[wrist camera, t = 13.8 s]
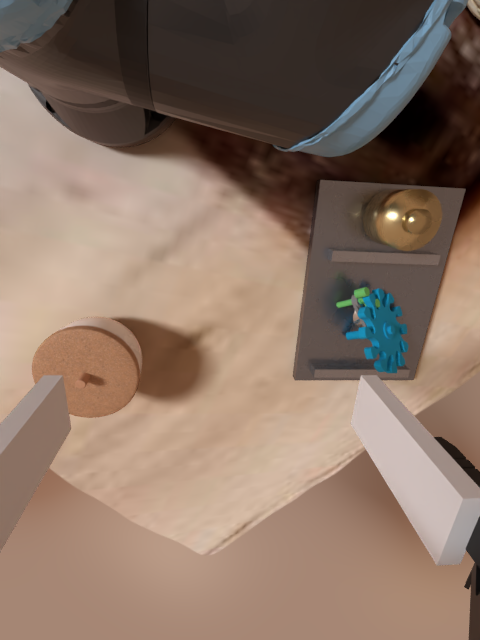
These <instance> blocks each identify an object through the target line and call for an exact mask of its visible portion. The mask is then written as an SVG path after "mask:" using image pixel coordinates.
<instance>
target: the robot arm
mask: <svg viewBox="0 0 480 640" xmlns="http://www.w3.org/2000/svg"><path fill="white" fill-rule="evenodd" d="M467 3H468V0H0V67H1V68H3V69H5V70H6V71H8V72H10V73H12V74H13V75H15V76H17V77H18V78H20V79H22V80H23V81H25V82H27V83H28V85H29V87H30V88H31V90H32V92H33V93H34V95H35V96H36V98H37V99H38V100H39V102H40V103H41V104H42V105H43V107H44V108H45V109H46V110H47V111H48V112H49V113H50V114H51V115H52V116H53V117H54V118H55V119H56V120H57V121H58V122H60V123H61V124H62V125H63V126H65V127H66V128H67V129H69V130H70V131H72V132H74V133H75V134H77V135H79V136H81V137H83V138H86V139H88V140H90V141H93V142H95V143H98V144H101V145H105V146H111V147H131V146H136V145H140V144H143V143H146V142H148V141H150V140H152V139H154V138H155V137H157V136H159V135H160V134H161V133H162V132H164V131H165V130H166V129H167V128H168V127H169V126H170V125H171V123H172V122H173V121H174V120H175V118H179V119H182V120H186V121H190V122H193V123H197V124H201V125H204V126H208V127H212V128H215V129H219V130H222V131H226V132H230V133H233V134H237V135H241V136H244V137H248V138H252V139H255V140H259V141H263V142H266V143H270V144H272V145H273V146H274V147H275V148H276V149H278V150H281V151H284V152H287V151H291V152H295V151H301V152H305V153H310V154H314V155H319V156H324V157H335V156H342V155H345V154H349V153H351V152H353V151H355V150H357V149H359V148H361V147H362V146H364V145H366V144H367V143H368V142H370V141H371V140H372V139H374V138H375V137H376V136H377V135H378V134H380V133H381V132H382V131H383V130H384V129H385V128H386V127H387V126H388V125H389V124H390V123H391V122H392V121H393V120H394V119H395V118H396V117H397V115H398V114H399V113H400V112H401V111H402V110H403V109H404V107H405V106H406V105H407V104H408V103H409V101H410V100H411V99H412V97H413V96H414V95H415V93H416V92H417V91H418V89H419V88H420V87H421V85H422V84H423V83H424V81H425V80H426V78H427V77H428V75H429V74H430V72H431V71H432V69H433V68H434V66H435V64H436V63H437V61H438V59H439V58H440V56H441V54H442V52H443V51H444V49H445V47H446V45H447V44H448V42H449V40H450V38H451V31H450V30H449V26H450V25H451V24H452V22H453V21H454V20H455V18H456V17H457V16H458V15H459V14H460V13H461V12H462V11H463V10H464V9H465V7H466V5H467ZM351 425H352V427H353V429H354V430H355V432H356V434H357V435H358V437H359V439H360V440H361V442H362V443H363V445H364V447H365V448H366V450H367V452H368V453H369V455H370V457H371V458H372V460H373V461H374V463H375V465H376V466H377V468H378V470H379V471H380V473H381V474H382V476H383V478H384V480H385V481H386V483H387V484H388V486H389V487H390V489H391V491H392V493H393V494H394V496H395V498H396V499H397V501H398V502H399V504H400V506H401V507H402V509H403V511H404V512H405V514H406V515H407V517H408V519H409V520H410V522H411V524H412V525H413V527H414V529H415V530H416V531H417V533H418V535H419V537H420V538H421V540H422V542H423V543H424V545H425V547H426V548H427V550H428V552H429V553H430V555H431V556H432V558H433V560H434V561H435V563H436V565H452V564H460V563H461V561H462V559H463V556H464V553H465V552H466V550H467V552H468V553H469V554H470V556H471V557H472V559H473V560H474V562H475V563H474V566H473V568H472V570H471V572H470V574H469V577H468V579H467V581H466V584H465V586H464V587H465V588H467V589H469V587H470V585H471V600H470V625H469V640H480V472H479V471H478V470H477V469H475V466H473V465H472V463H471V462H470V461H469V460H466V457H465V456H464V455H463V454H462V453H461V452H460V451H459V450H458V449H457V448H456V447H455V446H453V445H452V444H451V443H449V442H448V441H446V440H445V439H443V438H442V437H433V436H432V435H431V434H430V433H429V432H428V431H427V430H426V429H425V428H424V426H423V425H422V424H421V423H420V422H419V421H418V420H417V419H416V418H415V417H414V415H413V414H412V413H411V412H410V411H409V410H408V409H407V408H406V407H405V406H404V404H403V403H402V402H401V401H400V400H399V399H398V398H397V397H396V396H395V395H394V394H393V392H392V391H391V390H390V389H389V388H388V387H387V386H386V385H385V384H384V383H383V382H382V380H381V379H380V378H379V377H378V376H377V375H361V377H360V382H359V387H358V392H357V396H356V401H355V406H354V411H353V416H352V420H351ZM70 430H71V423H70V417H69V411H68V405H67V398H66V392H65V386H64V379H63V375H44V376H43V377H42V378H41V379H40V380H39V381H38V382H37V383H36V385H35V386H34V387H33V388H32V389H31V390H30V391H29V392H28V394H27V395H26V396H25V397H24V398H23V399H22V400H21V401H20V403H19V404H18V405H17V406H16V407H15V408H14V409H13V410H12V411H11V413H10V414H9V415H8V416H7V417H6V418H5V419H4V420H3V422H2V423H1V424H0V552H1V550H2V548H3V546H4V545H5V543H6V541H7V539H8V538H9V536H10V534H11V533H12V531H13V529H14V527H15V526H16V524H17V522H18V520H19V519H20V517H21V515H22V513H23V512H24V510H25V508H26V506H27V505H28V503H29V501H30V500H31V498H32V496H33V494H34V493H35V491H36V489H37V487H38V486H39V484H40V482H41V481H42V479H43V477H44V475H45V473H46V472H47V470H48V468H49V467H50V465H51V463H52V461H53V460H54V458H55V456H56V454H57V453H58V451H59V449H60V447H61V446H62V444H63V442H64V441H65V439H66V437H67V435H68V434H69V432H70Z"/></svg>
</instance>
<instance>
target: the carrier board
mask: <svg viewBox="0 0 480 640" xmlns="http://www.w3.org/2000/svg"><path fill="white" fill-rule="evenodd" d="M465 190H466V189H462V188H446V187H429V186H413V185H396V184H380V183H364V182H347V181H331V180H317V185H316V193H315V201H314V209H313V217H312V225H311V234H310V242H309V250H308V258H307V266H306V274H305V282H304V290H303V298H302V306H301V314H300V322H299V330H298V338H297V346H296V354H295V362H294V370H293V377H294V379H295V380H360V377H361V375H377V376H378V377H379V378H380V379H381V380H414V376H415V372H416V369H417V365H418V361H419V358H420V354H421V350H422V347H423V343H424V339H425V336H426V332H427V329H428V325H429V321H430V318H431V314H432V310H433V307H434V303H435V299H436V296H437V292H438V288H439V285H440V281H441V277H442V274H443V270H444V267H445V263H446V259H447V256H448V252H449V248H450V245H451V241H452V237H453V234H454V230H455V226H456V223H457V219H458V216H459V212H460V208H461V205H462V201H463V197H464V194H465ZM364 287H367V288H368V289H369V292H370V294H372V290H375V289H382V290H383V291H384V294H387V293H391V294H392V296H393V298H394V303H392V304H390V310H391V308H392V307H397V306H400V307H401V310H402V316H400V317H396V320H397V321H398V322H399V323H400V324H406V325H407V334H402V335H401V337H402V338H403V340H404V341H405V342H407V343H408V345H409V347H408V351H407V352H405V353H402V356H403V357H404V359H405V364H404V365H403V366H397V373H386V372H378V371H377V370H376V369H375V367H374V362H375V361H377V360H379V353H378V355H377V357H376V358H375V359H366V356H365V353H364V348H366V347H372V342H371V341H370V340H368V339H352V340H347V338H346V333H347V332H352V331H358V330H359V328H360V327H363V325H362V323H361V321H360V319H359V317H358V315H357V313H356V311H355V309H354V307H353V305H350V306H346V307H341V308H338V307H337V305H336V304H337V302H341V301H345V300H349V299H351V297H352V295H354V290H356V289H360V288H364ZM364 305H365V304H364Z"/></svg>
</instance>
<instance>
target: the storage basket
mask: <svg viewBox="0 0 480 640" xmlns="http://www.w3.org/2000/svg"><path fill="white" fill-rule="evenodd" d="M467 6H468V8H469V10H470V12H471V13H472V14H473V15H474V16H475V17H476V18H478V19H479V20H480V0H468V3H467Z"/></svg>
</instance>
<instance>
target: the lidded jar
mask: <svg viewBox="0 0 480 640" xmlns="http://www.w3.org/2000/svg"><path fill="white" fill-rule="evenodd" d="M141 371H142V352H141V348H140V345H139V343H138V341H137V339H136V337H135V336H134V334H133V333H132V332H131V331H130V330H129V329H128V328H127V327H126V326H124V325H123V324H121V323H119V322H118V321H115V320H113V319H109V318H105V317H86V318H82V319H79V320H76V321H73V322H71V323H69V324H67V325H65V326H64V327H62V328H61V329H59V330H58V331H57V332H55V333H54V334H52V335H51V336H50V337H48V338H47V339H46V340H45V341H44V342H43V343H42V344H41V345H40V346H39V348H38V349H37V351H36V353H35V355H34V358H33V363H32V374H33V378H34V382H35V384H36V383H37V382H38V381H39V380H40V379H41V378H42V377H43V376H44V375H63V379H64V386H65V392H66V398H67V405H68V411H69V414H71V415H74V416H80V417H89V418H92V417H101V416H106V415H109V414H112V413H115V412H117V411H119V410H120V409H122V408H123V407H125V406H126V405H127V404H128V403H129V402H130V401H131V399H132V398H133V396H134V395H135V392H136V390H137V388H138V384H139V380H140V375H141Z"/></svg>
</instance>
